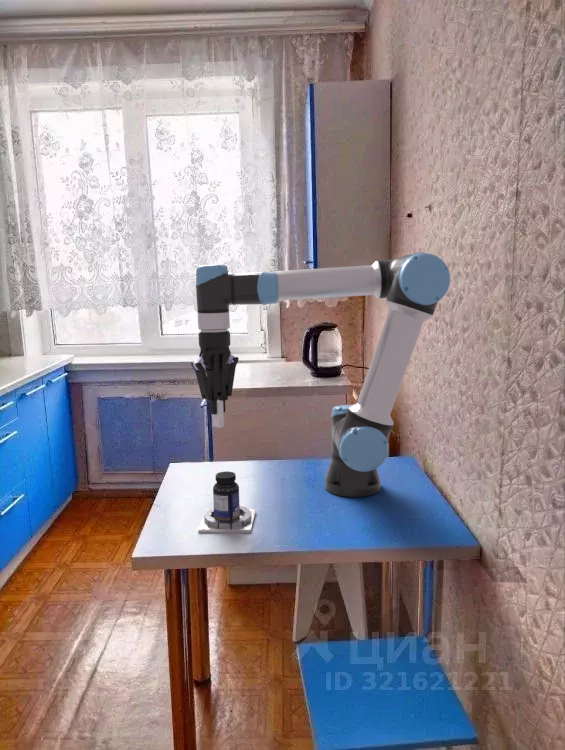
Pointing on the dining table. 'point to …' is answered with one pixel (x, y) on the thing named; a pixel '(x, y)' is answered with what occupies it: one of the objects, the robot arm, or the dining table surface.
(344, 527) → the dining table surface
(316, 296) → the robot arm
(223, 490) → the pill bottle
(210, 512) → the hub plate
